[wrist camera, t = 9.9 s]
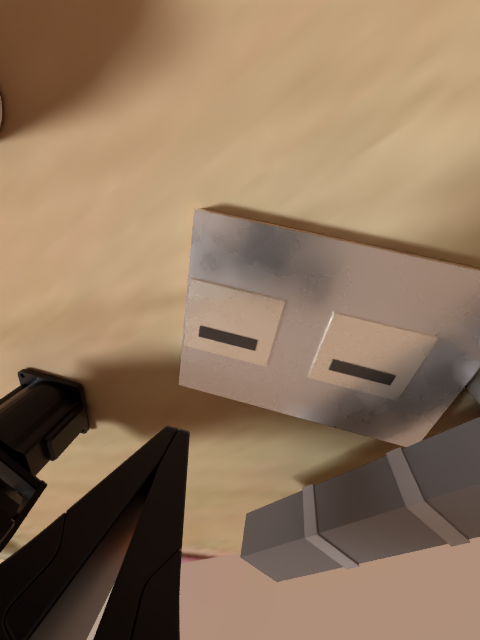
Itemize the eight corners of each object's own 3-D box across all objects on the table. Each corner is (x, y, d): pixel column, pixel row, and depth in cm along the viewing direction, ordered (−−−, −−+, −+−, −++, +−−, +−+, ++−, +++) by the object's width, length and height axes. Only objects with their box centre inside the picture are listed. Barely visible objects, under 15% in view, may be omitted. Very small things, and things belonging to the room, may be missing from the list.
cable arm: (280, 498, 25) (277, 587, 20) (250, 476, 25) (238, 561, 19) (538, 390, 16) (684, 502, 10) (502, 348, 15) (638, 442, 9)
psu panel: (184, 375, 21) (177, 387, 19) (201, 208, 15) (192, 209, 13) (407, 435, 19) (416, 453, 18) (524, 278, 13) (551, 286, 12)
